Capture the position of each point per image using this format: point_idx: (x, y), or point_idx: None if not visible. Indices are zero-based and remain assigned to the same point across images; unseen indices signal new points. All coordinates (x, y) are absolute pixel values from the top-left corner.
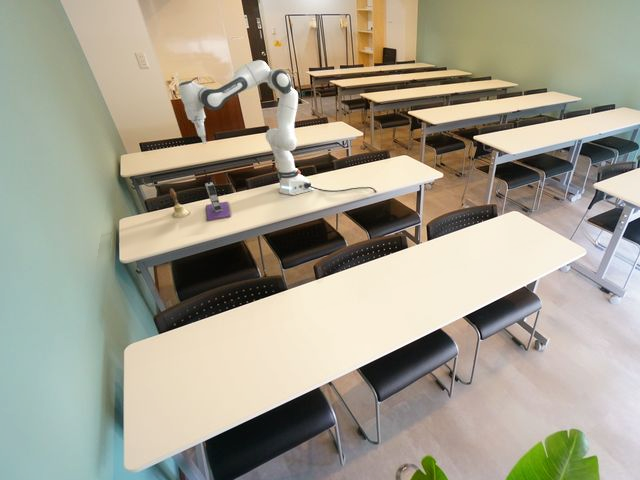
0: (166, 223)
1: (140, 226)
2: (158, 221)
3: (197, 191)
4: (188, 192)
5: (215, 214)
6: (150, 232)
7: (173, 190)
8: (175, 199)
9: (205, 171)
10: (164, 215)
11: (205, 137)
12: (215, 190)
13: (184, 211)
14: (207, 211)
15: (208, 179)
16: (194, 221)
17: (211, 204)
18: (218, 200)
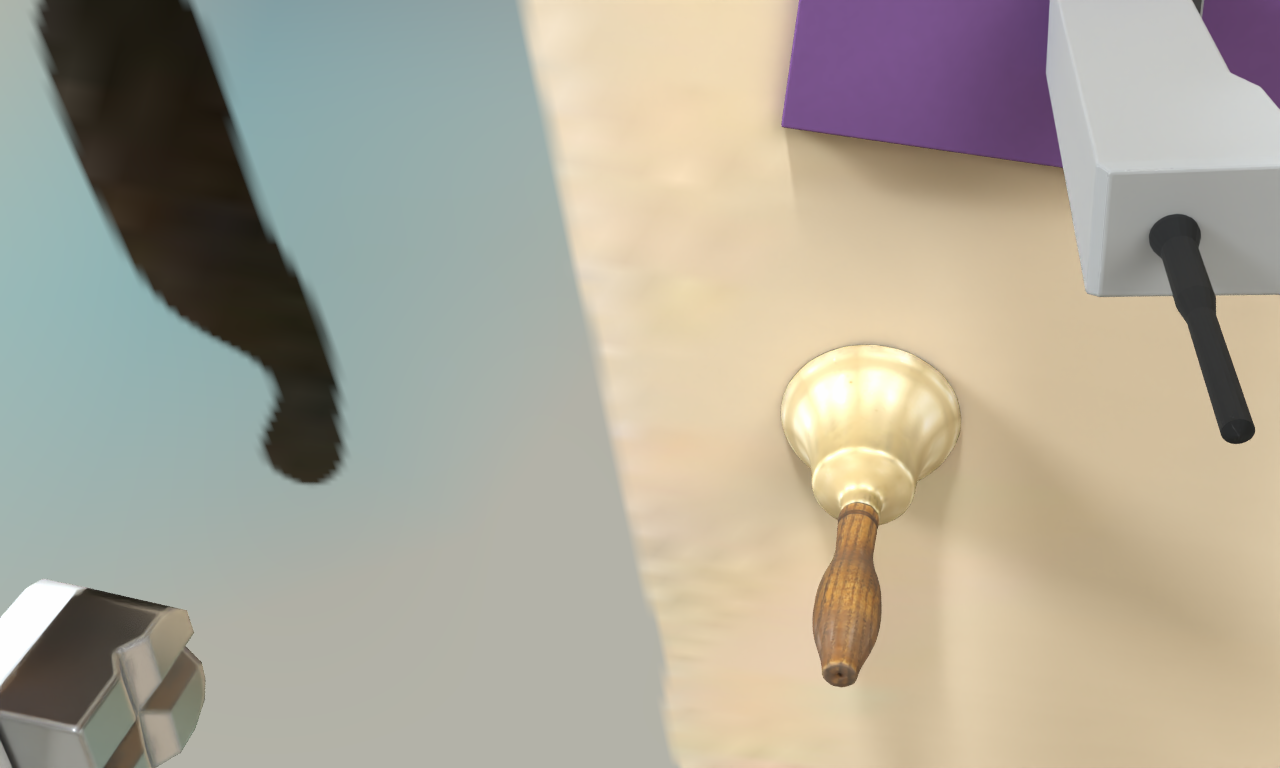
0: (1033, 564)
1: (936, 719)
2: (921, 605)
3: (170, 133)
4: (176, 234)
5: (1258, 81)
6: (1155, 692)
7: (848, 636)
8: (871, 557)
9: (1244, 398)
10: (791, 542)
11: (59, 625)
12: (1269, 105)
13: (911, 407)
14: (1049, 159)
15: (1199, 271)
16: None
17: (808, 61)
18: (1201, 26)
